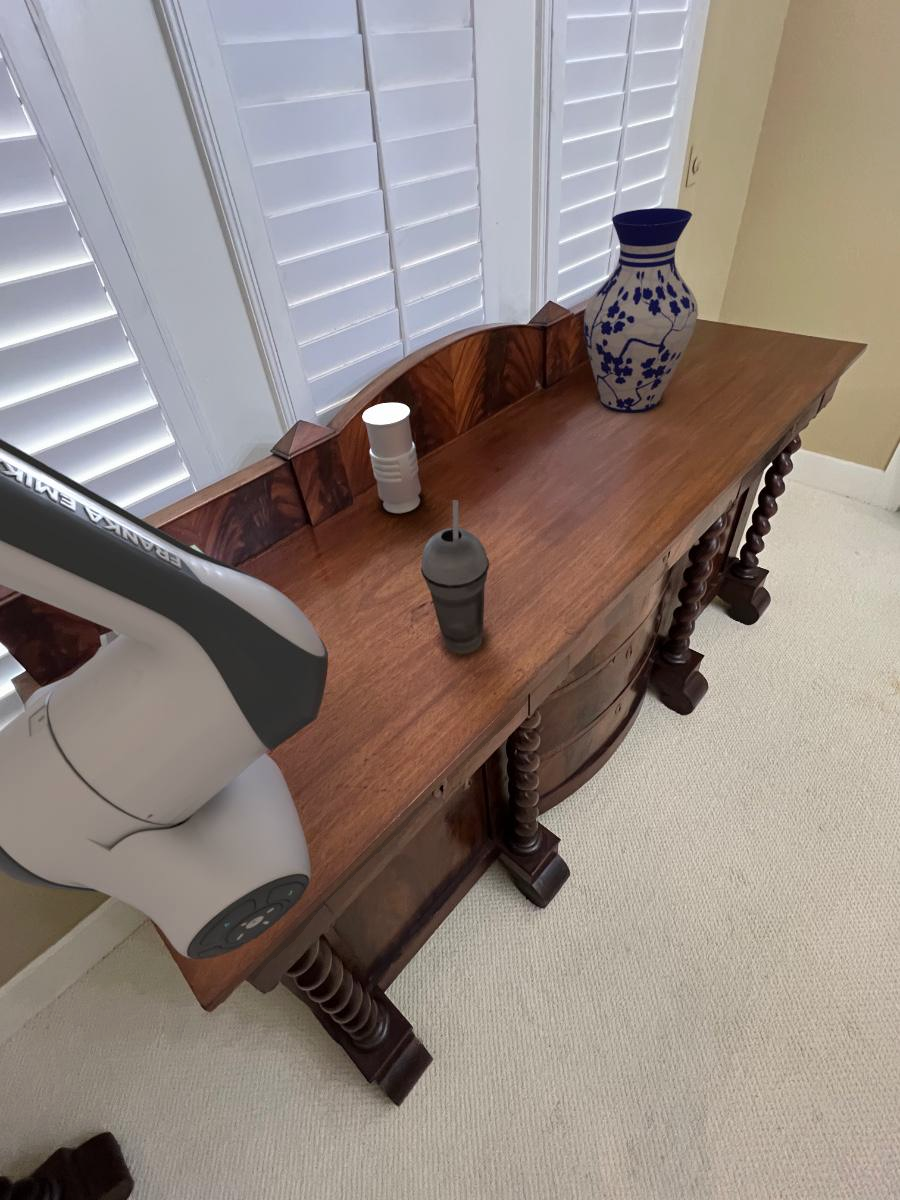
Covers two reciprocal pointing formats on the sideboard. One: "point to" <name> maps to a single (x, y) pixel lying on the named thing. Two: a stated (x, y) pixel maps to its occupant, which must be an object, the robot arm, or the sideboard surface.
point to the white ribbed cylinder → (393, 456)
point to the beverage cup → (457, 584)
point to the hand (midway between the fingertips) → (155, 619)
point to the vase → (640, 312)
